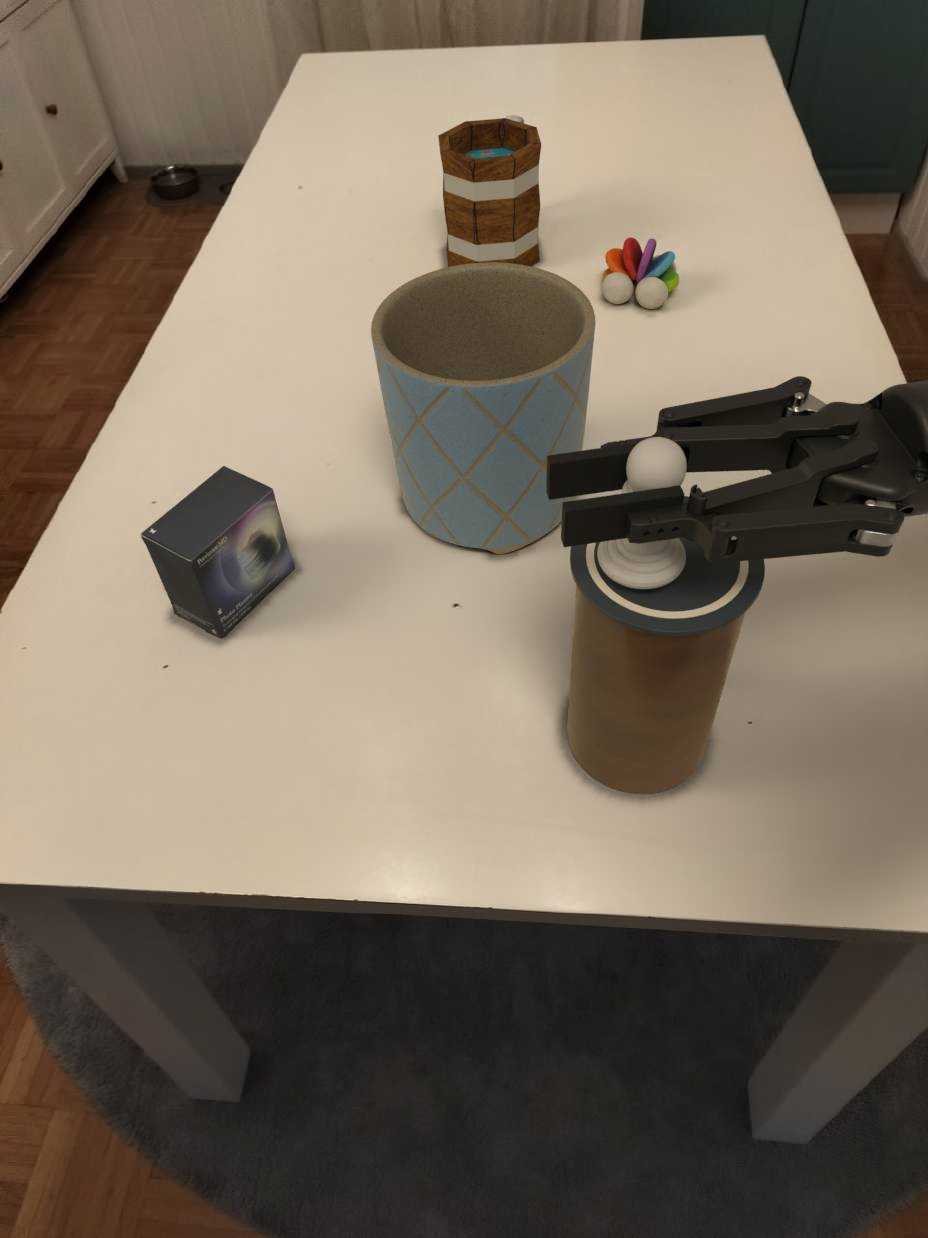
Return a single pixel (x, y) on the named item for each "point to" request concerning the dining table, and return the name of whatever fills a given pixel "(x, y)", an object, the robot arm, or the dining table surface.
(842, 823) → the dining table surface
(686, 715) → the walnut pedestal
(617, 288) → the rainbow petal fan toy
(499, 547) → the planter
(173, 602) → the small box
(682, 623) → the slate board
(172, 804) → the dining table surface
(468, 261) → the mug
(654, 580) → the chess piece
